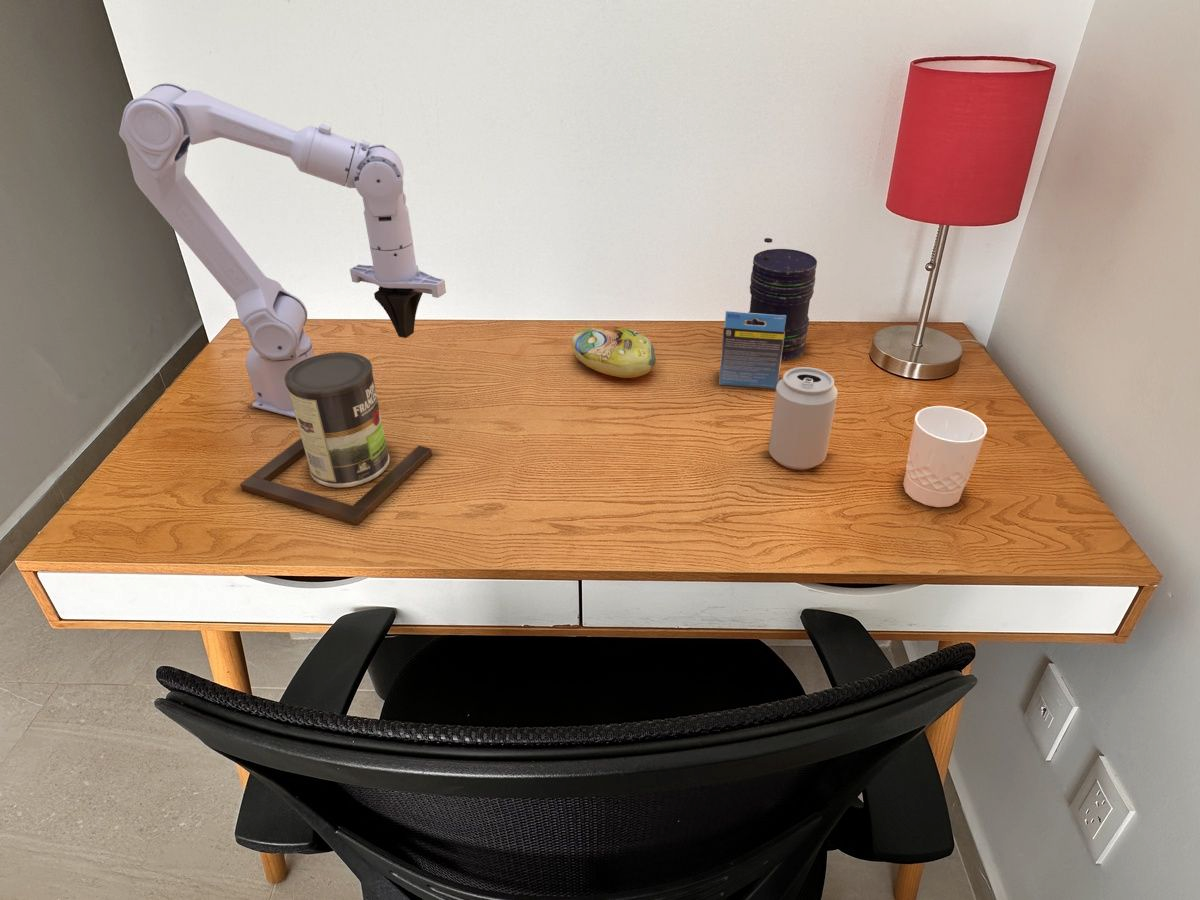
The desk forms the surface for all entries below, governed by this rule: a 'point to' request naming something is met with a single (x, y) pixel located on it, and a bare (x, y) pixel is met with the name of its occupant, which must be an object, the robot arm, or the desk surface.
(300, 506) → the walnut frame
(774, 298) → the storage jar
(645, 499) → the desk surface
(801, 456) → the can
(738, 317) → the label tape box
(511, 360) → the desk surface
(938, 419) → the white cup
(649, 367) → the cell model
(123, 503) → the desk surface
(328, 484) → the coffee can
